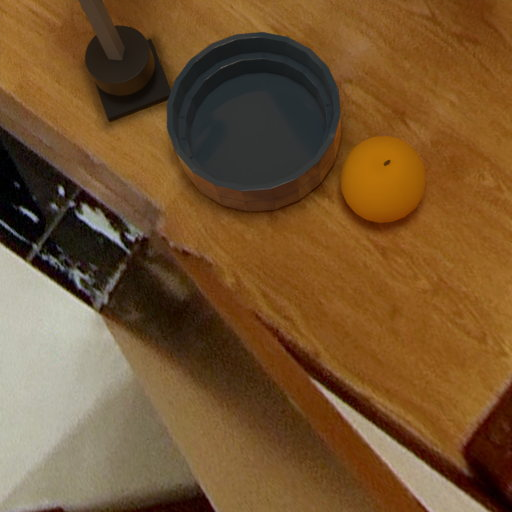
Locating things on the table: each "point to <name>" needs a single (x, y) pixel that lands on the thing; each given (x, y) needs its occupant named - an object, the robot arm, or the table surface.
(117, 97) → the pad
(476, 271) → the table surface
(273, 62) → the bowl
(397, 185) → the orange
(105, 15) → the square post on disc
